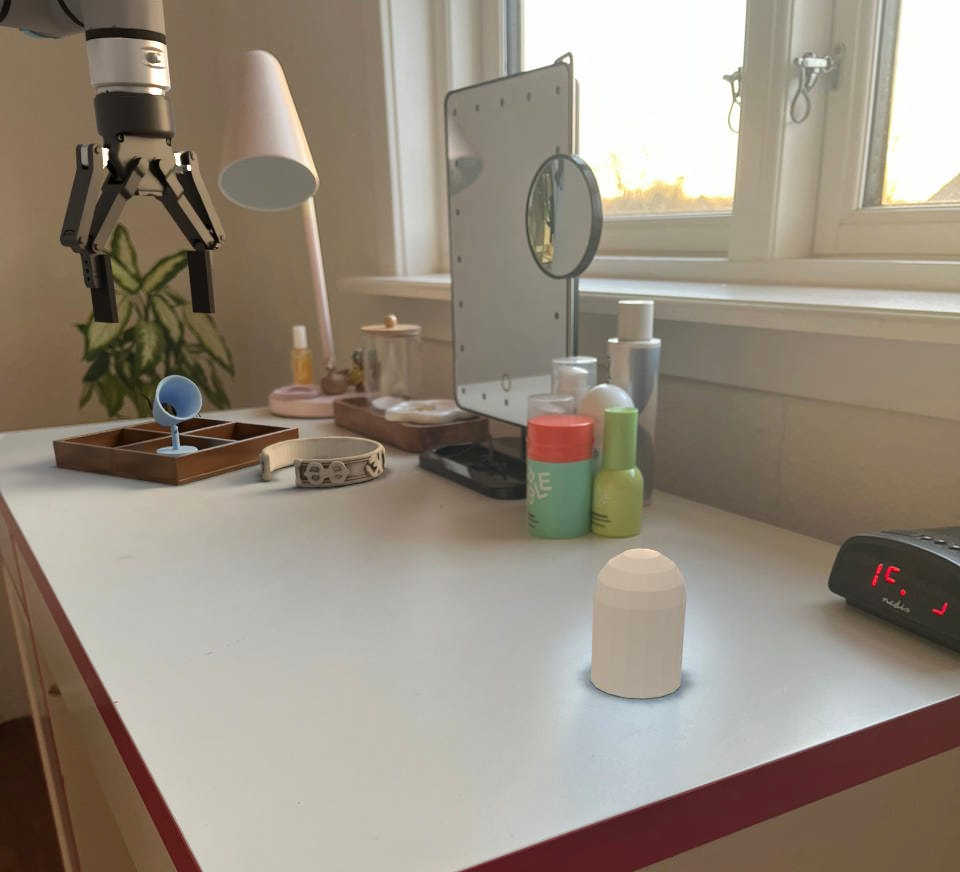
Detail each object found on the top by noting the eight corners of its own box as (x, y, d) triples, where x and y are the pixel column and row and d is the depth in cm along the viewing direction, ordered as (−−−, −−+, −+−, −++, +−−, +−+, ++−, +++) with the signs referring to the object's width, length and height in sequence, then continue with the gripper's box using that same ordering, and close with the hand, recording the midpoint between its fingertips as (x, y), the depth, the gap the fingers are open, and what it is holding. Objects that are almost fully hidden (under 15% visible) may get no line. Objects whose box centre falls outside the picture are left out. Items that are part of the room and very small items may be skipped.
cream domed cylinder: (625, 655, 64) (631, 532, 61) (698, 678, 61) (708, 549, 58) (572, 680, 61) (575, 551, 58) (646, 706, 57) (653, 570, 54)
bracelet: (395, 483, 109) (394, 455, 108) (264, 491, 106) (262, 463, 105) (375, 457, 121) (374, 432, 120) (258, 464, 118) (255, 438, 117)
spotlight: (212, 467, 114) (190, 457, 119) (202, 375, 110) (179, 369, 116) (169, 473, 111) (148, 462, 117) (157, 379, 108) (136, 372, 113)
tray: (56, 466, 119) (52, 440, 117) (183, 438, 134) (180, 415, 133) (178, 485, 109) (175, 457, 108) (300, 452, 125) (298, 427, 124)
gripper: (50, 77, 90) (86, 328, 98) (248, 103, 110) (263, 310, 118) (-4, 82, 93) (34, 325, 101) (197, 106, 113) (215, 308, 121)
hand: (157, 317), depth 110 cm, fingers open, 13 cm apart
